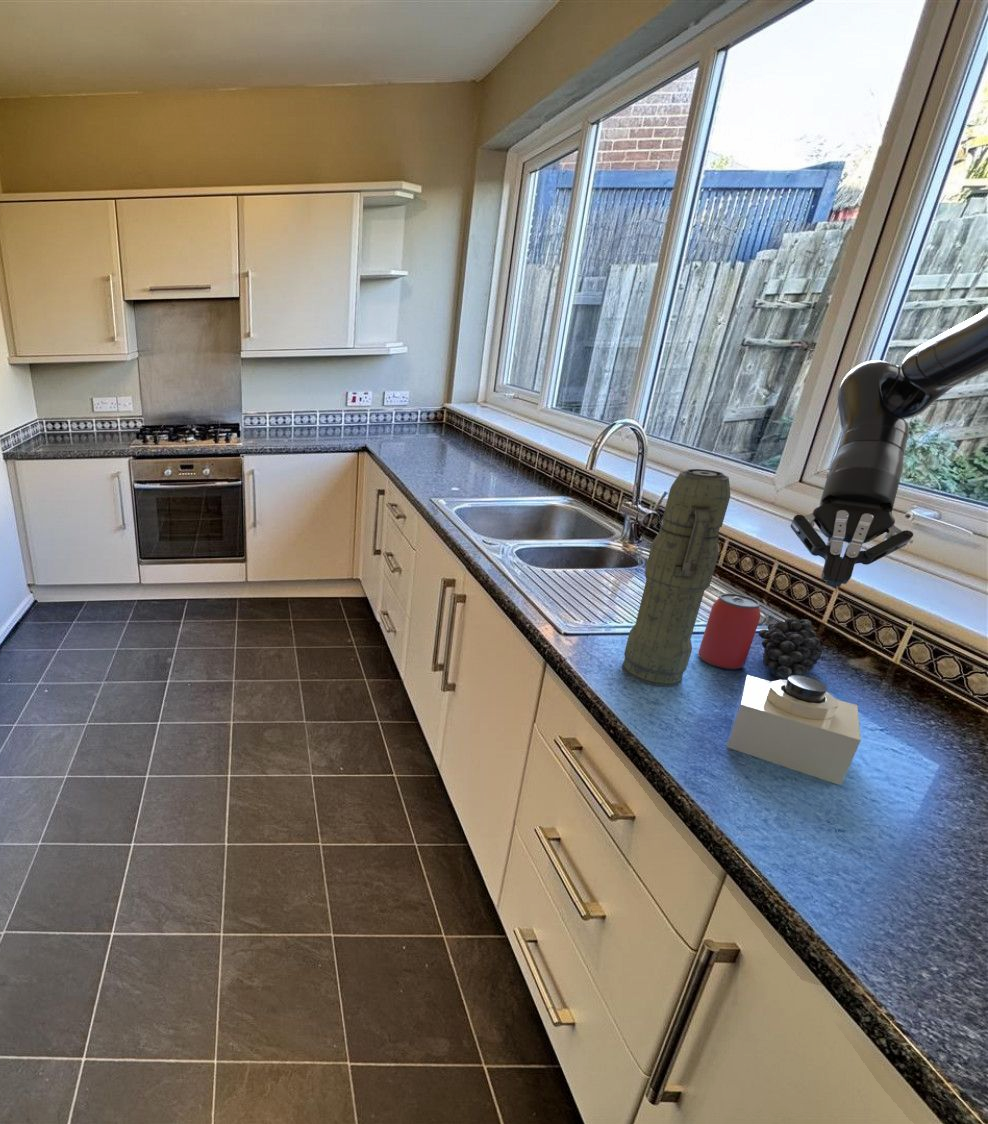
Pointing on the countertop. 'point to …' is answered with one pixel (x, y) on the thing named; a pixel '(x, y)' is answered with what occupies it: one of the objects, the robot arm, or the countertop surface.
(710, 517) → the thermos
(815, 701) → the black push button
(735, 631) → the beer can
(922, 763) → the countertop surface
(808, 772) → the push button housing
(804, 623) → the fruit
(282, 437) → the countertop surface
